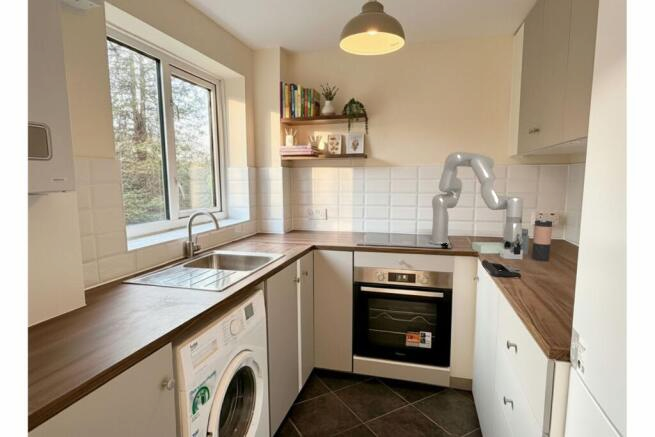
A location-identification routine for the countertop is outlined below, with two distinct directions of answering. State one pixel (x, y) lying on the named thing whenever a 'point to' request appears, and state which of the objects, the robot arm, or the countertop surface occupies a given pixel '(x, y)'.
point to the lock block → (510, 253)
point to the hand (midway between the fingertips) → (511, 252)
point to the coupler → (500, 245)
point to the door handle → (494, 269)
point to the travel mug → (542, 240)
